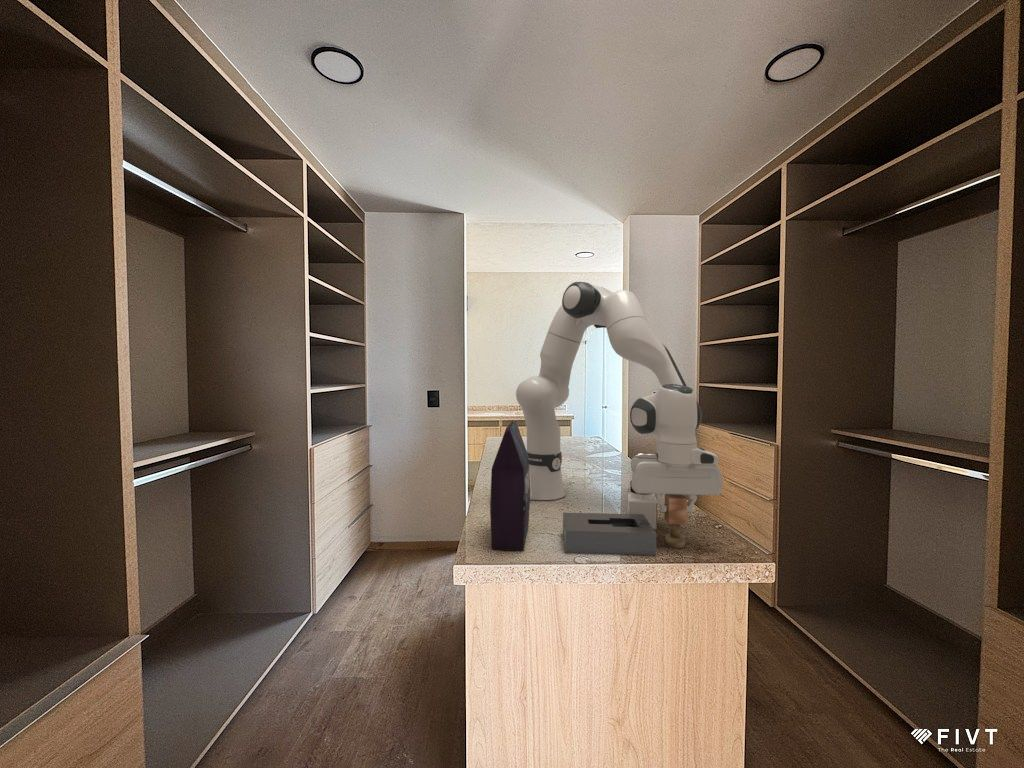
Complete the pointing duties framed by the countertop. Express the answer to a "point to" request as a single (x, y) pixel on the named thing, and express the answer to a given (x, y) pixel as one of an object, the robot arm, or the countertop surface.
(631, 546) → the keyhole plate
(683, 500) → the slider
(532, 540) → the countertop surface
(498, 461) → the decorative box
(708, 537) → the countertop surface
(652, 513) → the medicine bottle
